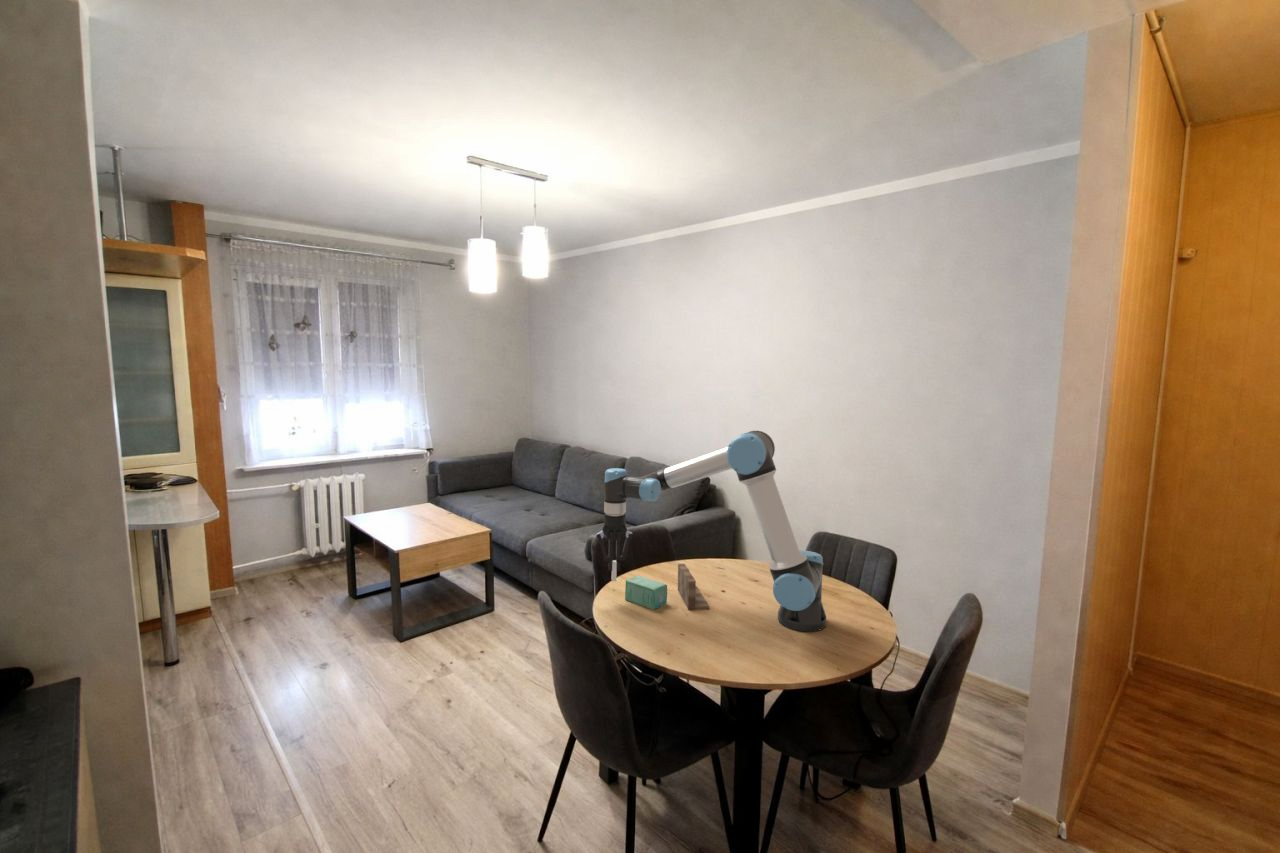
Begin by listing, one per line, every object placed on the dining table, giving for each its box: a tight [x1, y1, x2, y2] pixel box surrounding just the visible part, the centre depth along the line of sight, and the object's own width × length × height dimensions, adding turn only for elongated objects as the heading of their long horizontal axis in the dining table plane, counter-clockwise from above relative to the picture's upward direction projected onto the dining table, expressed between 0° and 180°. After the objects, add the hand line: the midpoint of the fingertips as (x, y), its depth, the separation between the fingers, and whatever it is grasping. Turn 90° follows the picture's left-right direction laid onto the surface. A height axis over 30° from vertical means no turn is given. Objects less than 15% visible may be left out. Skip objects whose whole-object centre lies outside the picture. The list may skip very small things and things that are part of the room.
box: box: [624, 574, 668, 611], centre depth 194 cm, size 7×14×8 cm, turn 50°
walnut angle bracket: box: [677, 563, 710, 611], centre depth 196 cm, size 18×7×10 cm, turn 8°
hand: (613, 579), depth 193 cm, fingers closed
